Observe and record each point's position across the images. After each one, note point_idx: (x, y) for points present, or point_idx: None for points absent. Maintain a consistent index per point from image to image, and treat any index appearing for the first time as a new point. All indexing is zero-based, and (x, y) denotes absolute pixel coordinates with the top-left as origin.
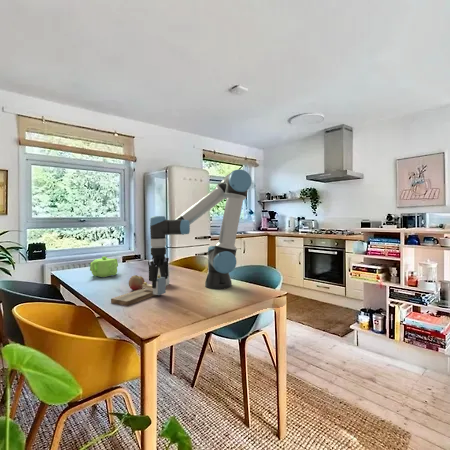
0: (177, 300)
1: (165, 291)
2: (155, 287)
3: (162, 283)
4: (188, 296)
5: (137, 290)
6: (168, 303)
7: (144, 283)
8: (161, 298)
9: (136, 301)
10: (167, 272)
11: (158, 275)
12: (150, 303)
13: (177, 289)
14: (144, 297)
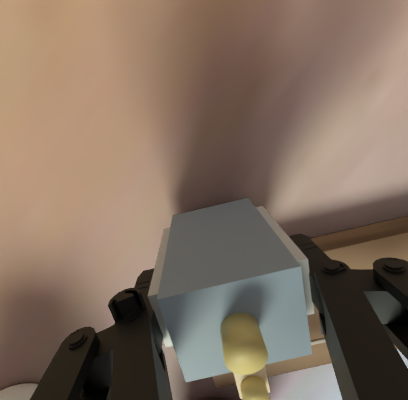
0: (207, 12)
1: (172, 219)
2: (291, 239)
3: (215, 246)
4: (63, 28)
5: (282, 368)
6: (308, 6)
7: (267, 391)
8: (246, 165)
9: (402, 220)
10: (59, 387)
11: (254, 359)
12: (374, 126)
13: (17, 264)
14: (332, 240)
